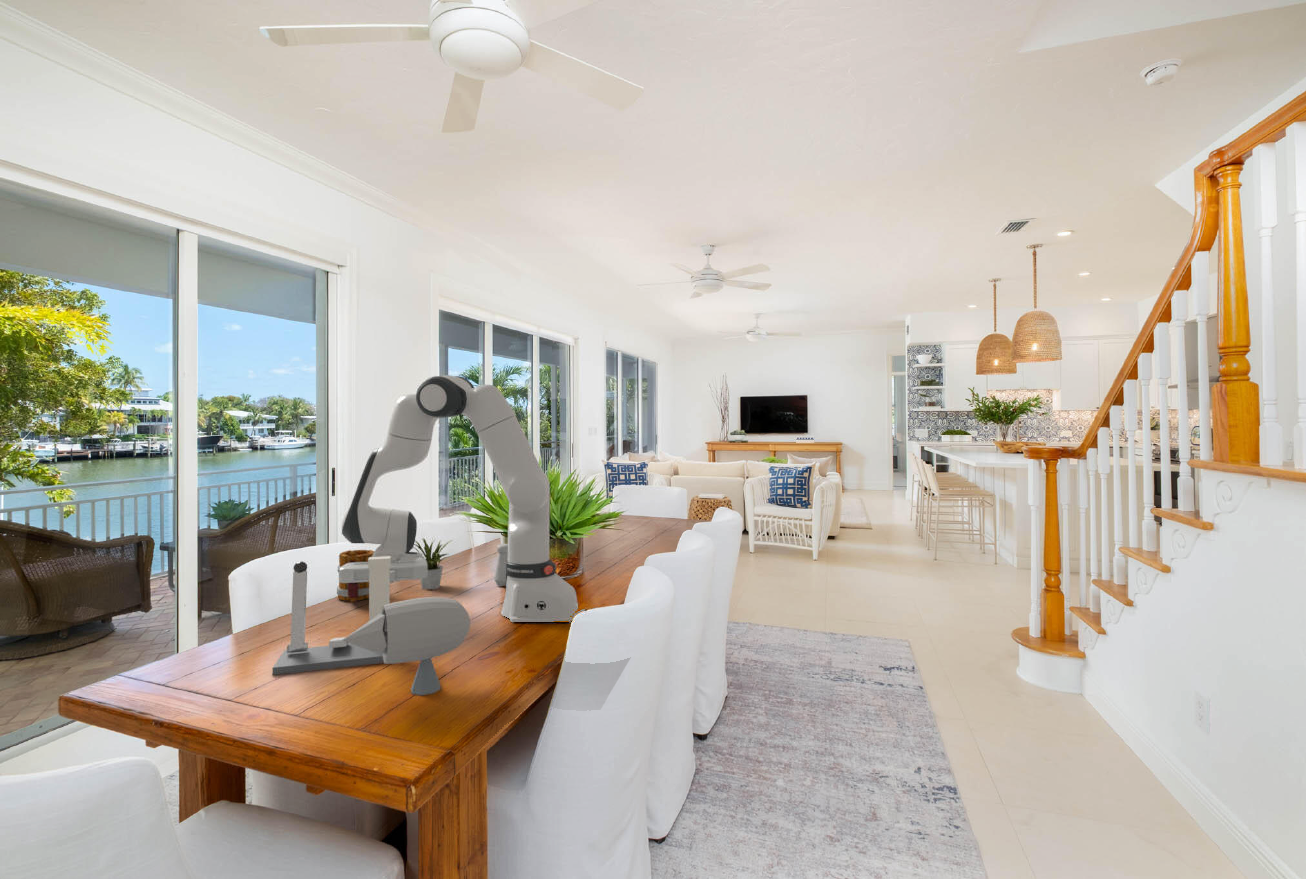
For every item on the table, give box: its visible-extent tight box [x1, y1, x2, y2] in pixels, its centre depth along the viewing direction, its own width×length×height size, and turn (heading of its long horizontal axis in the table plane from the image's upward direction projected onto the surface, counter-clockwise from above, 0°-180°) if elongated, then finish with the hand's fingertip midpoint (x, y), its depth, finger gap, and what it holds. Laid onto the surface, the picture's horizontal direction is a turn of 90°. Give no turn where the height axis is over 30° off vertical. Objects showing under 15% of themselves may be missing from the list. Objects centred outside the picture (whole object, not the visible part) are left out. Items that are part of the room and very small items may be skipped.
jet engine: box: [342, 596, 471, 696], centre depth 114 cm, size 15×20×18 cm
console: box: [272, 643, 385, 676], centre depth 129 cm, size 10×22×2 cm, turn 110°
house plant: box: [412, 537, 453, 590], centre depth 186 cm, size 14×14×16 cm
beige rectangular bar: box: [368, 556, 391, 622], centre depth 133 cm, size 2×4×19 cm, turn 109°
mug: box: [336, 549, 375, 603], centre depth 174 cm, size 11×16×15 cm, turn 18°
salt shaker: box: [493, 543, 508, 587], centre depth 190 cm, size 6×6×13 cm
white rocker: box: [328, 636, 350, 648], centre depth 131 cm, size 5×3×1 cm, turn 20°
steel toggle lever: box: [286, 560, 309, 653], centre depth 129 cm, size 3×4×19 cm
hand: (382, 579), depth 144 cm, fingers closed
